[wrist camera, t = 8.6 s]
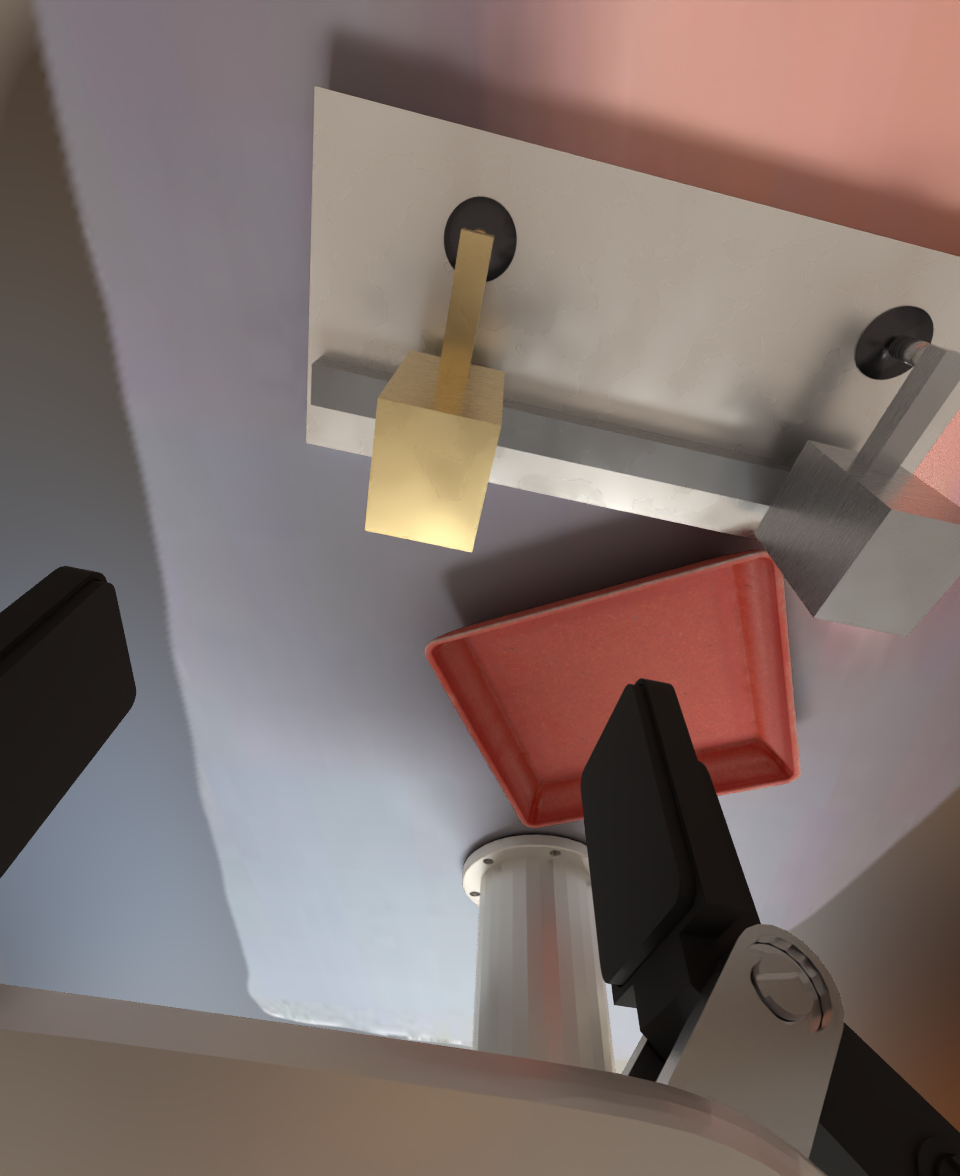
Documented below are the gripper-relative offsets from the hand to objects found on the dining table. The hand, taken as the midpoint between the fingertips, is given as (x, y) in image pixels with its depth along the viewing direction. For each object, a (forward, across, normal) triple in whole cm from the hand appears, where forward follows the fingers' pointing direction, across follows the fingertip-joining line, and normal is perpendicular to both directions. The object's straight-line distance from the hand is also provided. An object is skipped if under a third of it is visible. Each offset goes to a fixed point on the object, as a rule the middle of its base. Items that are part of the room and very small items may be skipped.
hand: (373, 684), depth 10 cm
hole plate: (+17, -7, -4) cm, 19 cm away
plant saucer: (+18, -13, +14) cm, 27 cm away
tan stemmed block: (+15, 0, -3) cm, 16 cm away
